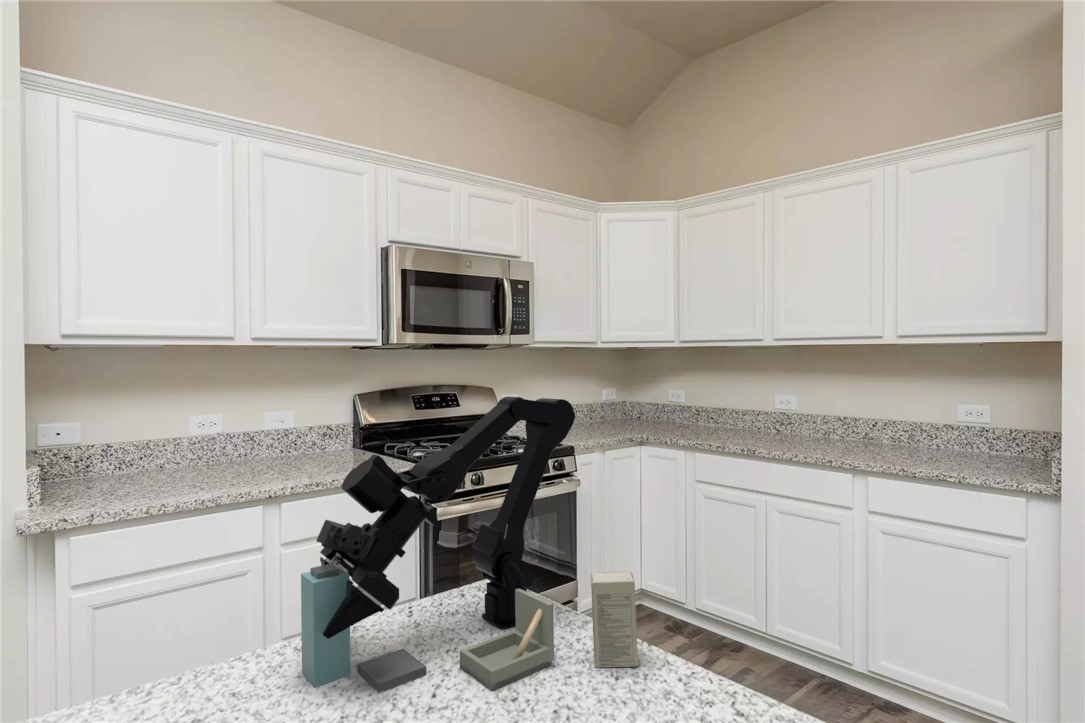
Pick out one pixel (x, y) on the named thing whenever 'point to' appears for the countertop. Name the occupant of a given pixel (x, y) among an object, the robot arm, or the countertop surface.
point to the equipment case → (514, 645)
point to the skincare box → (614, 619)
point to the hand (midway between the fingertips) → (315, 624)
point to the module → (323, 625)
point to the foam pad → (391, 670)
